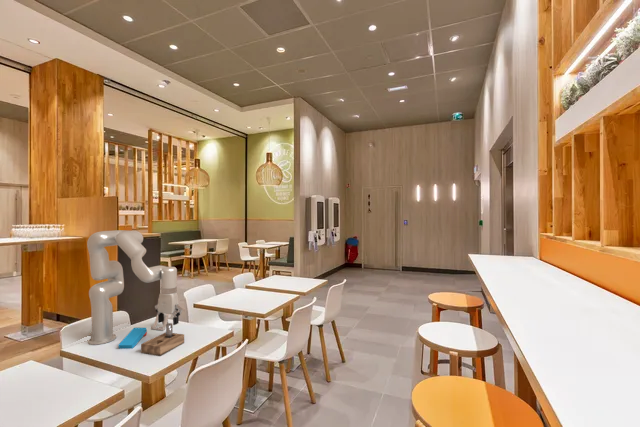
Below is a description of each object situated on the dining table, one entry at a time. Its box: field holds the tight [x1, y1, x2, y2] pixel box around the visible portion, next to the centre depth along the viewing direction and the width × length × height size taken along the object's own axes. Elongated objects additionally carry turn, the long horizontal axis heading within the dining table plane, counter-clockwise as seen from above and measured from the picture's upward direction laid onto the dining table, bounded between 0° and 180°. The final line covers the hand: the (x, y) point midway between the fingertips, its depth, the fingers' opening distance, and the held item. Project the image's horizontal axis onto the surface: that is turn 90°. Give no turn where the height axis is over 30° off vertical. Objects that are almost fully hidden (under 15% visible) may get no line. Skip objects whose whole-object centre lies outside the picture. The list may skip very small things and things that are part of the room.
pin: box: [165, 322, 174, 338], centre depth 162 cm, size 3×3×10 cm
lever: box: [117, 327, 148, 350], centre depth 167 cm, size 7×7×18 cm
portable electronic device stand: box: [150, 313, 172, 332], centre depth 186 cm, size 9×8×8 cm
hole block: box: [140, 331, 185, 357], centre depth 158 cm, size 12×16×4 cm
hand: (168, 323), depth 162 cm, fingers open, 9 cm apart
